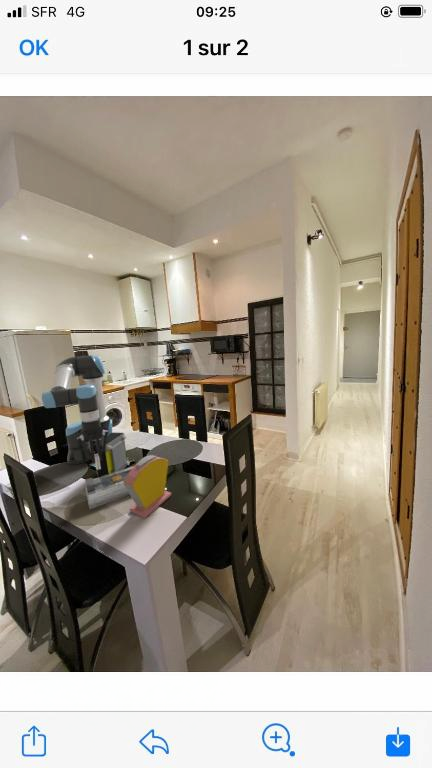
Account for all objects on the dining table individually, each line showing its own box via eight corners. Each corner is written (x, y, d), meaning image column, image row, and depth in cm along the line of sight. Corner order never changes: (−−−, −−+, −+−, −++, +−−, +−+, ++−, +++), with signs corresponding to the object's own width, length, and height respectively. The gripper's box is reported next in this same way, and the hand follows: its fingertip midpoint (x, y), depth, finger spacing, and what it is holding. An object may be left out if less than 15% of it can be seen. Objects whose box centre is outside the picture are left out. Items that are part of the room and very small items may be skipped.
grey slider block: (86, 488, 117) (85, 479, 116) (100, 484, 120) (99, 475, 119) (88, 496, 111) (86, 486, 110) (102, 491, 114) (101, 482, 113)
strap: (101, 482, 120) (101, 479, 119) (134, 473, 128) (134, 469, 128) (103, 489, 114) (103, 485, 114) (137, 478, 123) (137, 475, 122)
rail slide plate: (86, 494, 120) (83, 480, 119) (139, 475, 134) (138, 463, 132) (89, 509, 108) (87, 495, 107) (148, 487, 122) (146, 474, 121)
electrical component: (113, 481, 129) (107, 445, 126) (96, 480, 132) (90, 445, 128) (131, 464, 146) (126, 432, 143) (115, 464, 148) (111, 432, 145)
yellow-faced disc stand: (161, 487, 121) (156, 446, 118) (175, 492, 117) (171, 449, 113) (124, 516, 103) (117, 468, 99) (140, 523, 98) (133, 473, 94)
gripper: (74, 425, 104) (83, 476, 108) (108, 418, 111) (115, 466, 116) (72, 421, 110) (81, 469, 114) (104, 414, 117) (111, 460, 122)
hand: (98, 468), depth 115 cm, fingers closed
